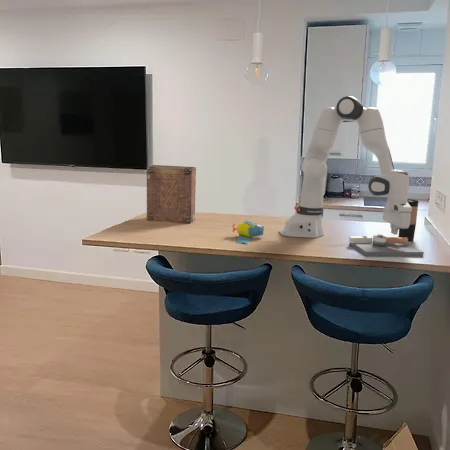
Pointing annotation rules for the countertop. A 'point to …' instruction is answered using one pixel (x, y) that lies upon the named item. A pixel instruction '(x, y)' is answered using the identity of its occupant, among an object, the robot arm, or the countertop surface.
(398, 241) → the multicoloured piece
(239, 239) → the yellow and blue toy
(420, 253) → the stand
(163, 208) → the book
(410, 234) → the travel mug
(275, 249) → the countertop surface
